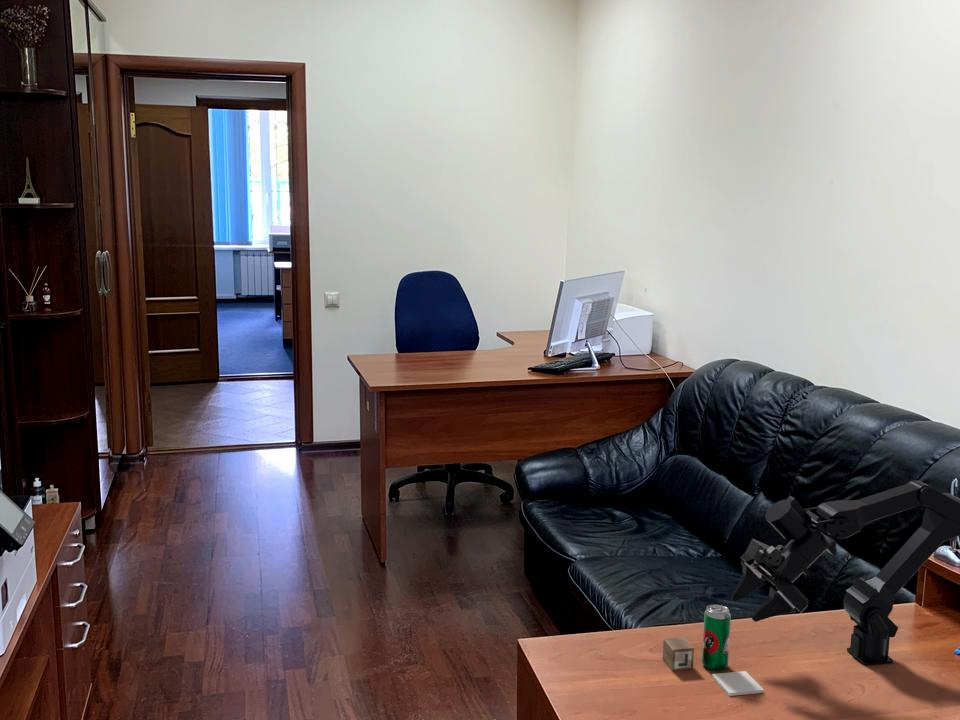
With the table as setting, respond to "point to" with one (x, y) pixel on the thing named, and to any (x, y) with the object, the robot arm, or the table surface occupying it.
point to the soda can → (716, 637)
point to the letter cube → (678, 654)
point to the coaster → (737, 683)
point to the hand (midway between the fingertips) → (742, 609)
